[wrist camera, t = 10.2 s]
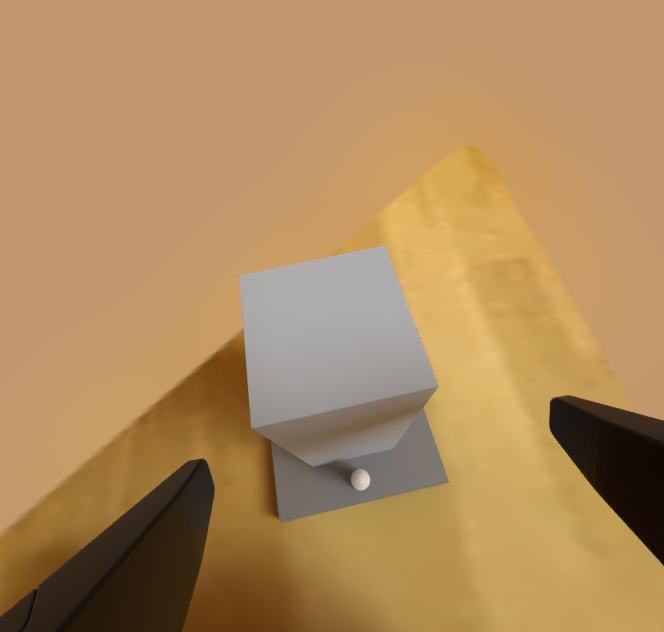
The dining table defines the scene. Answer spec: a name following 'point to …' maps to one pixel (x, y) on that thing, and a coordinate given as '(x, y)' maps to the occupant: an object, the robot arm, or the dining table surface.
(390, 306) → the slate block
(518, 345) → the dining table surface
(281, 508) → the plate
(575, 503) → the dining table surface
